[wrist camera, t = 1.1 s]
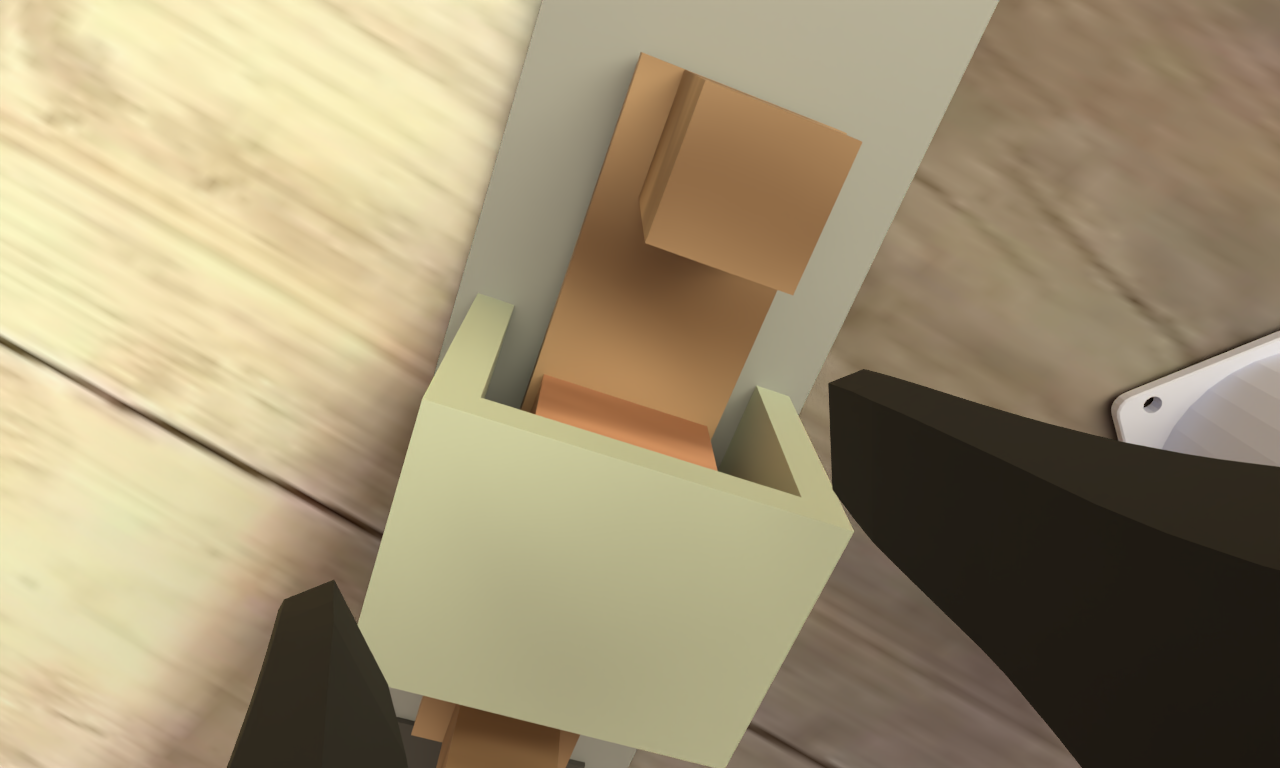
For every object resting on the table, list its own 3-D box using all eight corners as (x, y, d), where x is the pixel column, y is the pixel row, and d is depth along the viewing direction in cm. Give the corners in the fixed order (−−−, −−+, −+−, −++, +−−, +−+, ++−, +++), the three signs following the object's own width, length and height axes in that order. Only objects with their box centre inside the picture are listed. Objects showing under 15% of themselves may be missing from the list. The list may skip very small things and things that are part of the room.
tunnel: (481, 286, 22) (422, 398, 15) (785, 387, 24) (854, 531, 17) (418, 498, 25) (342, 675, 18) (695, 578, 26) (724, 770, 19)
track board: (610, -227, 18) (610, -235, 17) (1011, -47, 19) (1022, -50, 19) (320, 772, 29) (314, 786, 28) (589, 833, 30) (589, 848, 30)
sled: (640, 51, 19) (650, 58, 14) (834, 128, 20) (912, 161, 15) (419, 705, 27) (371, 870, 21) (566, 741, 27) (554, 908, 22)
